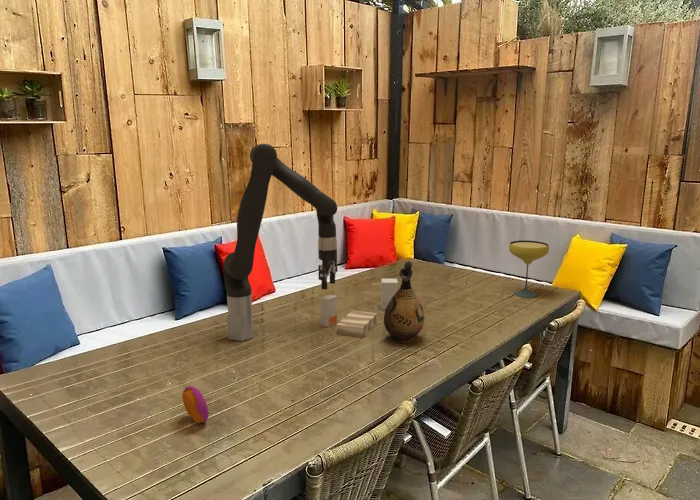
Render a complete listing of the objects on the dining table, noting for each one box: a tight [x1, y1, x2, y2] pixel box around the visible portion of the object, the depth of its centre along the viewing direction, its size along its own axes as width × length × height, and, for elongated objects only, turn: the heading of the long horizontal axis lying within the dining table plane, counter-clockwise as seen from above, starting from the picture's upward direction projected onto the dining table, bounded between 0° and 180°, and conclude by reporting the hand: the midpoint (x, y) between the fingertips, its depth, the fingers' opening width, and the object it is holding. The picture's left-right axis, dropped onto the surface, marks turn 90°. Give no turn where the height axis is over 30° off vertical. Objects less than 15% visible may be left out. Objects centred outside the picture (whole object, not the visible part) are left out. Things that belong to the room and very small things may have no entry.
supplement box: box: [380, 278, 399, 311], centre depth 244 cm, size 7×7×13 cm
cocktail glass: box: [508, 240, 550, 298], centre depth 261 cm, size 18×18×25 cm
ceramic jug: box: [383, 260, 425, 344], centre depth 206 cm, size 17×15×30 cm
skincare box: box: [319, 294, 338, 328], centre depth 223 cm, size 6×4×12 cm
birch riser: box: [336, 310, 378, 338], centre depth 219 cm, size 18×11×4 cm, turn 159°
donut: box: [181, 385, 210, 424], centre depth 149 cm, size 8×9×10 cm
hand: (328, 286), depth 220 cm, fingers open, 8 cm apart
